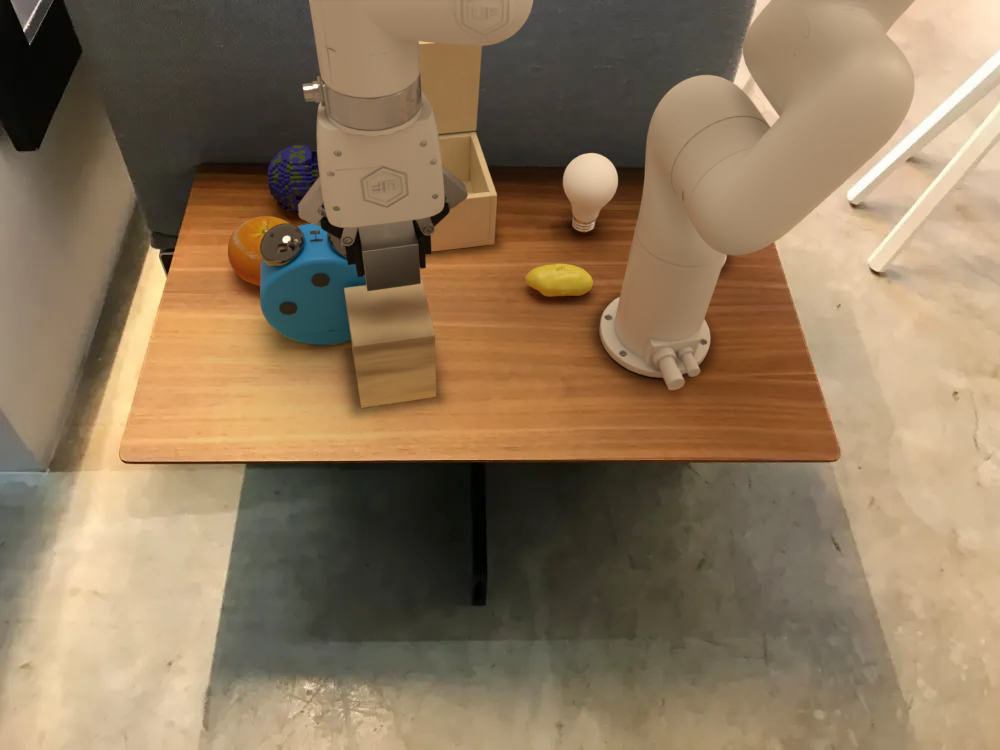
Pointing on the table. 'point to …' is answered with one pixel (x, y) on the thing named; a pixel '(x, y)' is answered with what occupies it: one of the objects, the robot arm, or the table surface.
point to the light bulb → (589, 188)
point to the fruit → (250, 247)
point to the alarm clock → (306, 284)
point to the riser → (392, 344)
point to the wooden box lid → (451, 84)
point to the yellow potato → (559, 280)
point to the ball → (292, 175)
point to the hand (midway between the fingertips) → (389, 261)
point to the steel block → (390, 255)
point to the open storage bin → (478, 210)
